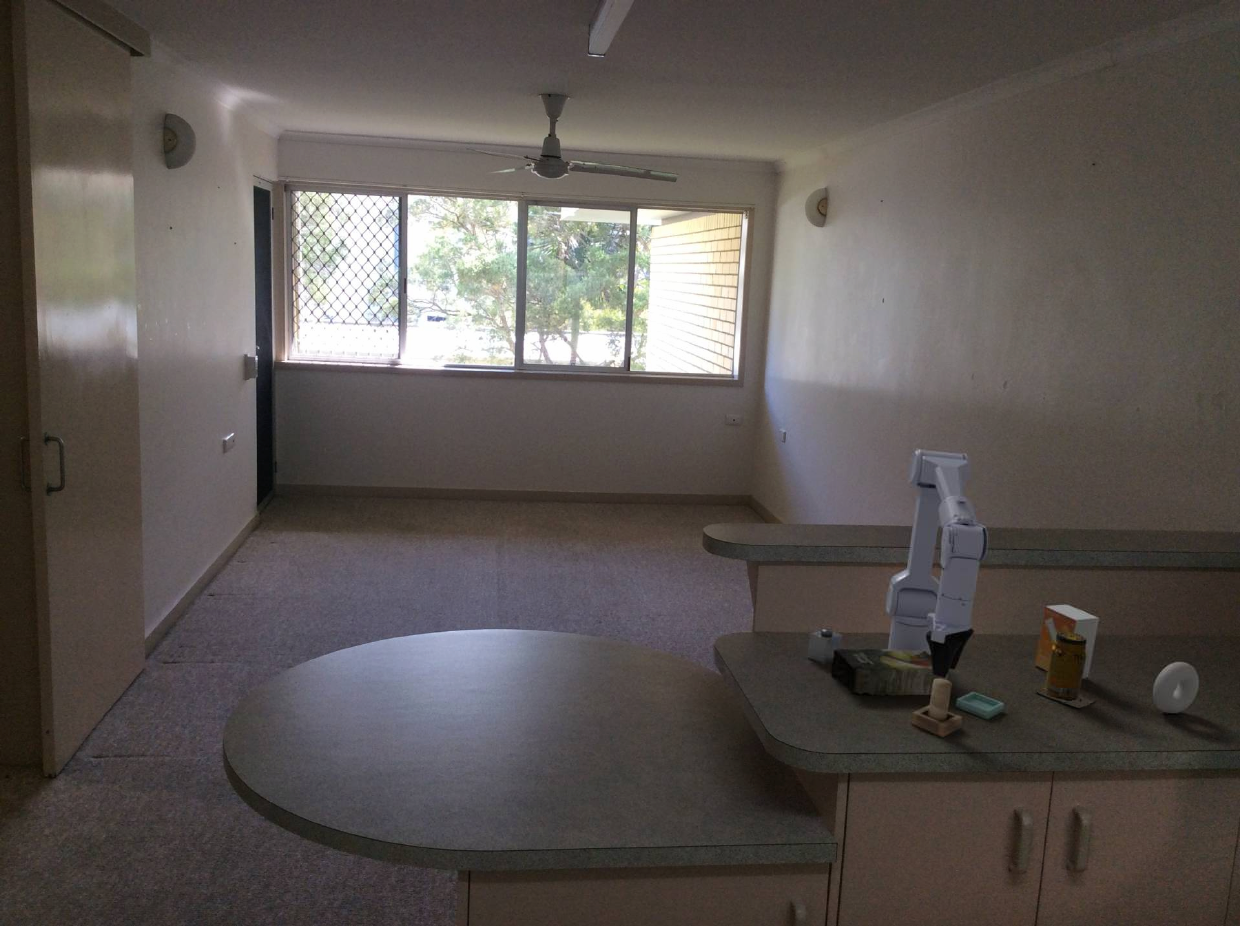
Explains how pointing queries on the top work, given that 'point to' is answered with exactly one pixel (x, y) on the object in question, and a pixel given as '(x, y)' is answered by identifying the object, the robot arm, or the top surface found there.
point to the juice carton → (886, 671)
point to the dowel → (939, 699)
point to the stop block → (823, 645)
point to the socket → (936, 722)
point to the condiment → (1066, 666)
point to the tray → (980, 705)
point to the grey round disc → (1167, 682)
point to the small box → (1065, 621)
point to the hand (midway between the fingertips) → (944, 671)
